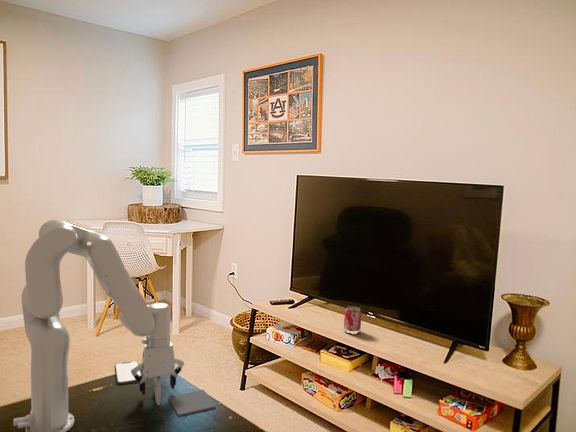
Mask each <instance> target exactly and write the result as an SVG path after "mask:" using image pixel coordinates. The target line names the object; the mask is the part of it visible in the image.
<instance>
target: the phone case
mask: <svg viewBox="0 0 576 432" xmlns="http://www.w3.org/2000/svg"><path fill="white" fill-rule="evenodd" d="M138 365H140V363H139V362H138V361H137V360H134V361H133V360H132V361H127V362H126V361H124V362H119V363H115V364H114V374H115V380H116V385H118V386H125V385H130V384H136V383H139V381H137V380H136V379H135V378H134V376H133V375H132V373H131V370H132V369H133V368H135V367H137V366H138ZM137 374H138V375H139V376H140V375H141V374H142V369H141V370H139V371H138V372H137Z"/></svg>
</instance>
